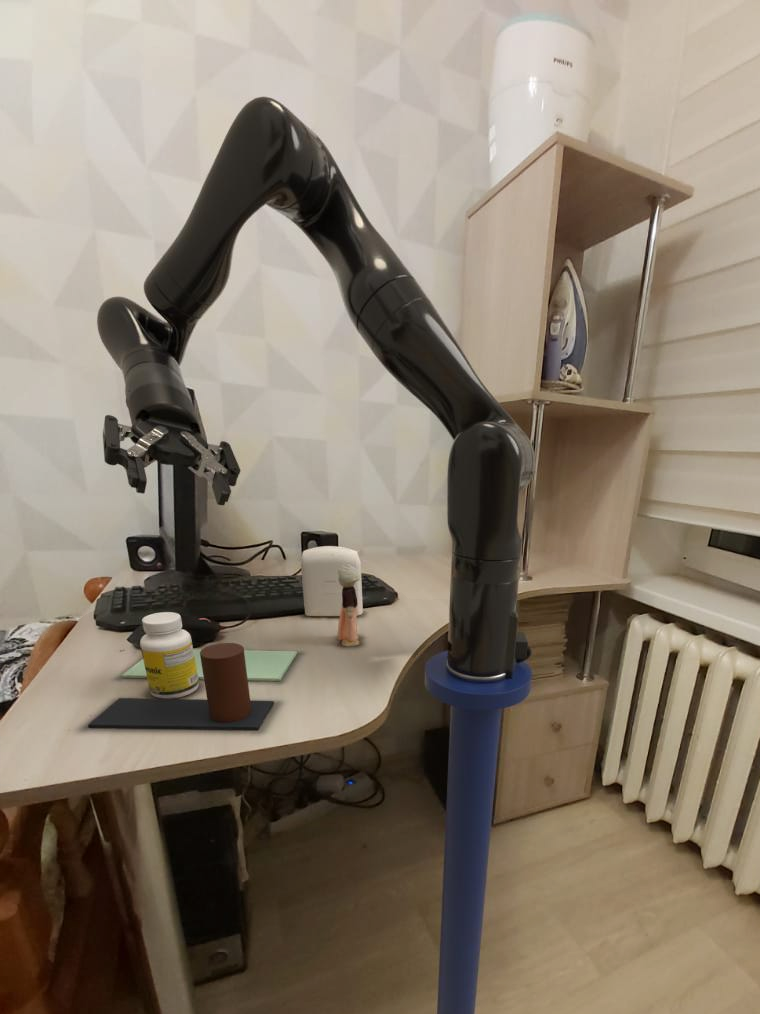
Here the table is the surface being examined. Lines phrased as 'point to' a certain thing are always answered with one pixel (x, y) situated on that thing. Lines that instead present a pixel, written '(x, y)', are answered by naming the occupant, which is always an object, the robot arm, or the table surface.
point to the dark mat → (174, 715)
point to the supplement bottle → (168, 656)
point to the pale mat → (257, 665)
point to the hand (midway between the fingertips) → (184, 494)
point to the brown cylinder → (226, 682)
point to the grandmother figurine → (348, 605)
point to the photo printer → (327, 579)
